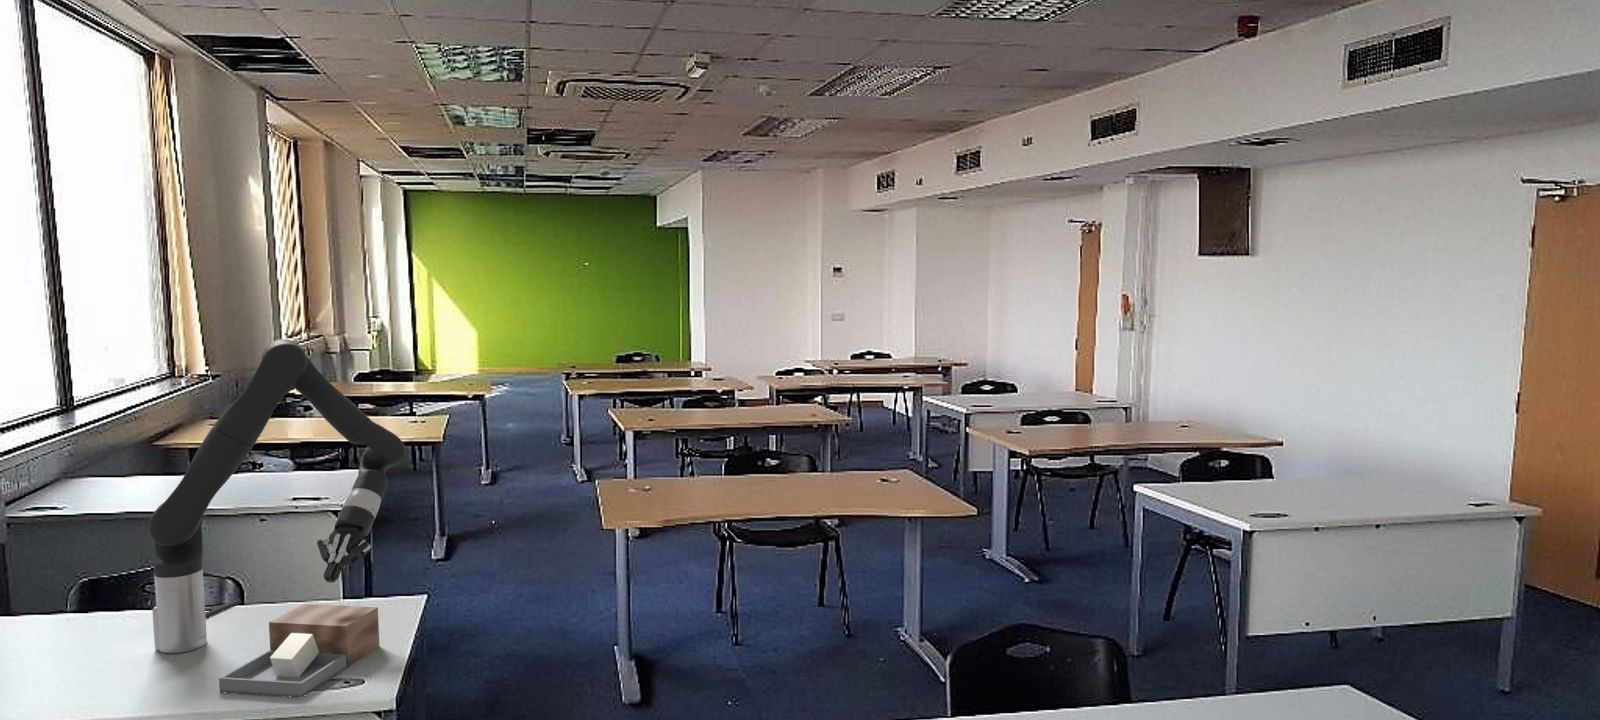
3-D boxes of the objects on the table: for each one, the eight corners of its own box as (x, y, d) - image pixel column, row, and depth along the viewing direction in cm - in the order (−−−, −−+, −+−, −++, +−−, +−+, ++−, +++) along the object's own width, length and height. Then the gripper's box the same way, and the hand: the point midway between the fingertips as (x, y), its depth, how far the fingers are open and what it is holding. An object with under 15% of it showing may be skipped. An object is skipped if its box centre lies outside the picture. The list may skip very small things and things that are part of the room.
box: (219, 692, 203) (218, 678, 202) (269, 663, 217) (268, 650, 217) (302, 698, 200) (301, 683, 200) (346, 668, 215) (346, 654, 214)
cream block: (298, 650, 216) (276, 676, 209) (291, 632, 214) (269, 657, 207) (319, 652, 215) (298, 677, 209) (312, 634, 213) (291, 659, 206)
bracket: (191, 602, 260) (190, 591, 260) (242, 605, 257) (241, 594, 257) (145, 621, 246) (144, 610, 246) (198, 625, 243) (197, 614, 243)
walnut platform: (271, 662, 218) (268, 622, 217) (306, 642, 230) (304, 603, 229) (348, 667, 215) (346, 626, 214) (379, 646, 227) (377, 607, 226)
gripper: (324, 503, 232) (293, 571, 221) (378, 505, 230) (348, 573, 219) (340, 520, 238) (310, 587, 227) (392, 522, 236) (364, 590, 225)
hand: (329, 580), depth 223 cm, fingers closed
